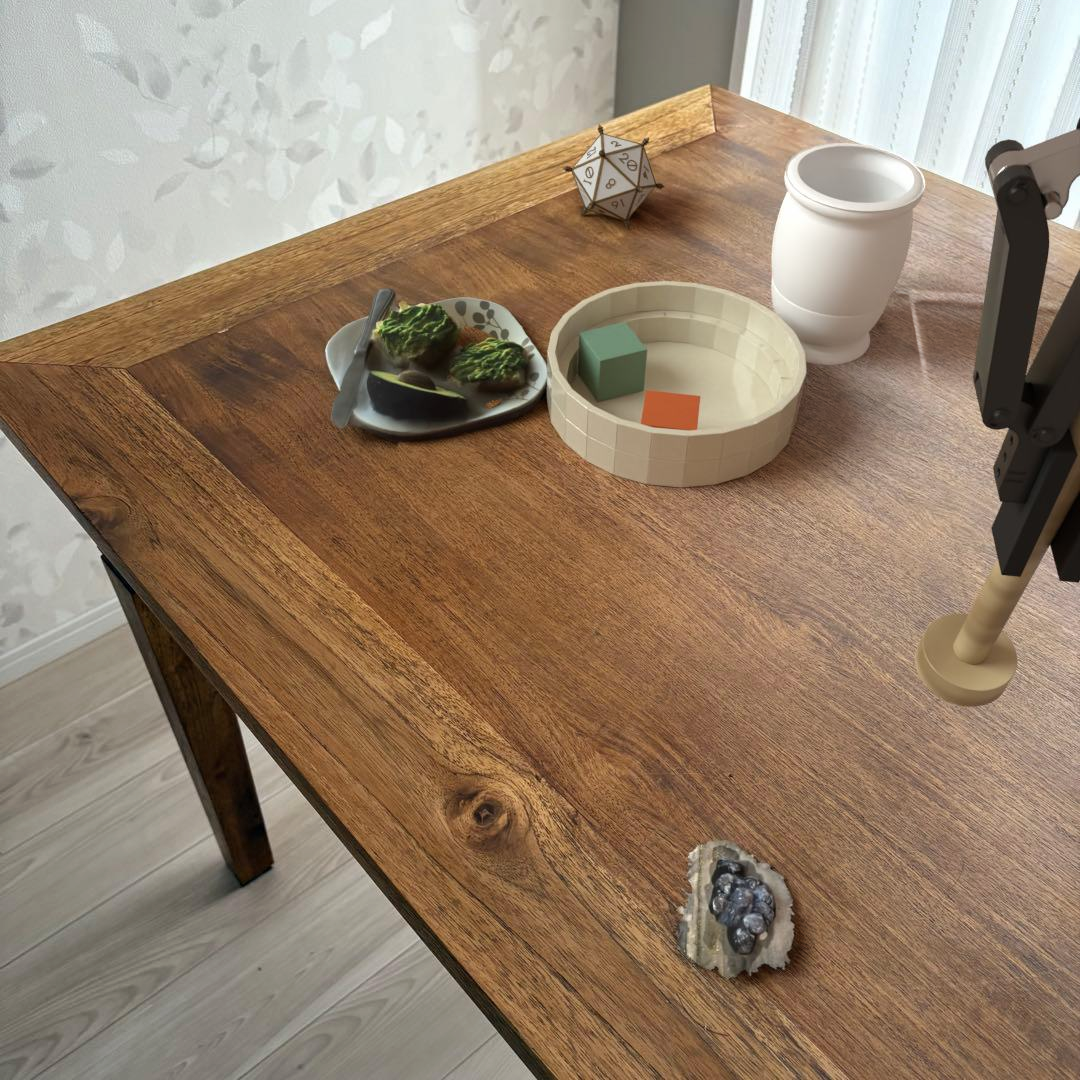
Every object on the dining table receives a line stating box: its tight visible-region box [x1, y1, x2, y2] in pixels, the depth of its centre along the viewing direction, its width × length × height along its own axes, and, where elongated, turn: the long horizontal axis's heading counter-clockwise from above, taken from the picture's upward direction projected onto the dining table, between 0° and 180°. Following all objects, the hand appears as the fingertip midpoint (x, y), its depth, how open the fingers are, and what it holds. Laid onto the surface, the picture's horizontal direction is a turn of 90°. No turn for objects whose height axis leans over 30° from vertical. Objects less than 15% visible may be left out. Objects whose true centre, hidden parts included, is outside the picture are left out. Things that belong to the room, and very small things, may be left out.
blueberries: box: [675, 838, 795, 980], centre depth 58 cm, size 7×8×2 cm
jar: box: [770, 142, 926, 366], centre depth 88 cm, size 11×10×15 cm
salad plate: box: [324, 287, 547, 444], centre depth 89 cm, size 19×18×5 cm
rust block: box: [641, 390, 700, 430], centre depth 81 cm, size 4×4×4 cm
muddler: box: [914, 408, 1080, 708], centre depth 47 cm, size 4×4×18 cm
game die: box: [562, 124, 666, 230], centre depth 105 cm, size 9×8×10 cm
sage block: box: [578, 322, 647, 402], centre depth 87 cm, size 4×4×4 cm
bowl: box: [546, 280, 808, 488], centre depth 85 cm, size 19×19×6 cm
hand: (1034, 554), depth 46 cm, fingers closed on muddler, 2 cm apart
